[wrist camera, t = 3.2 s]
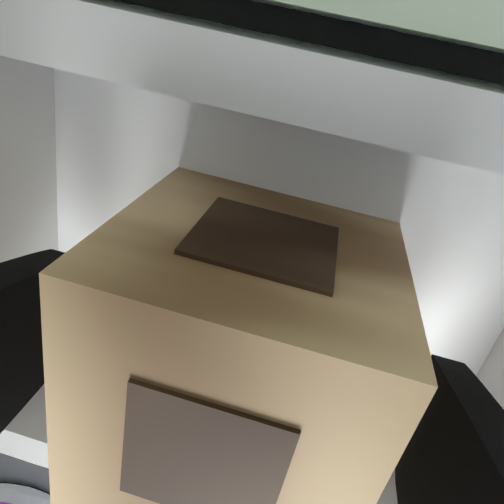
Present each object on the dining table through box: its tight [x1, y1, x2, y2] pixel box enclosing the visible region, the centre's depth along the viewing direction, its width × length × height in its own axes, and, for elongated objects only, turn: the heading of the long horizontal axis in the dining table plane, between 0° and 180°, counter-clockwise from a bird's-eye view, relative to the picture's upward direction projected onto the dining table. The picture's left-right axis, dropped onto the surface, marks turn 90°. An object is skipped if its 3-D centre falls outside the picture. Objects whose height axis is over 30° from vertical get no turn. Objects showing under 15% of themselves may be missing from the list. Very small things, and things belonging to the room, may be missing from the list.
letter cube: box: [39, 167, 438, 504], centre depth 9 cm, size 5×5×5 cm
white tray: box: [0, 0, 504, 504], centre depth 10 cm, size 13×11×3 cm
